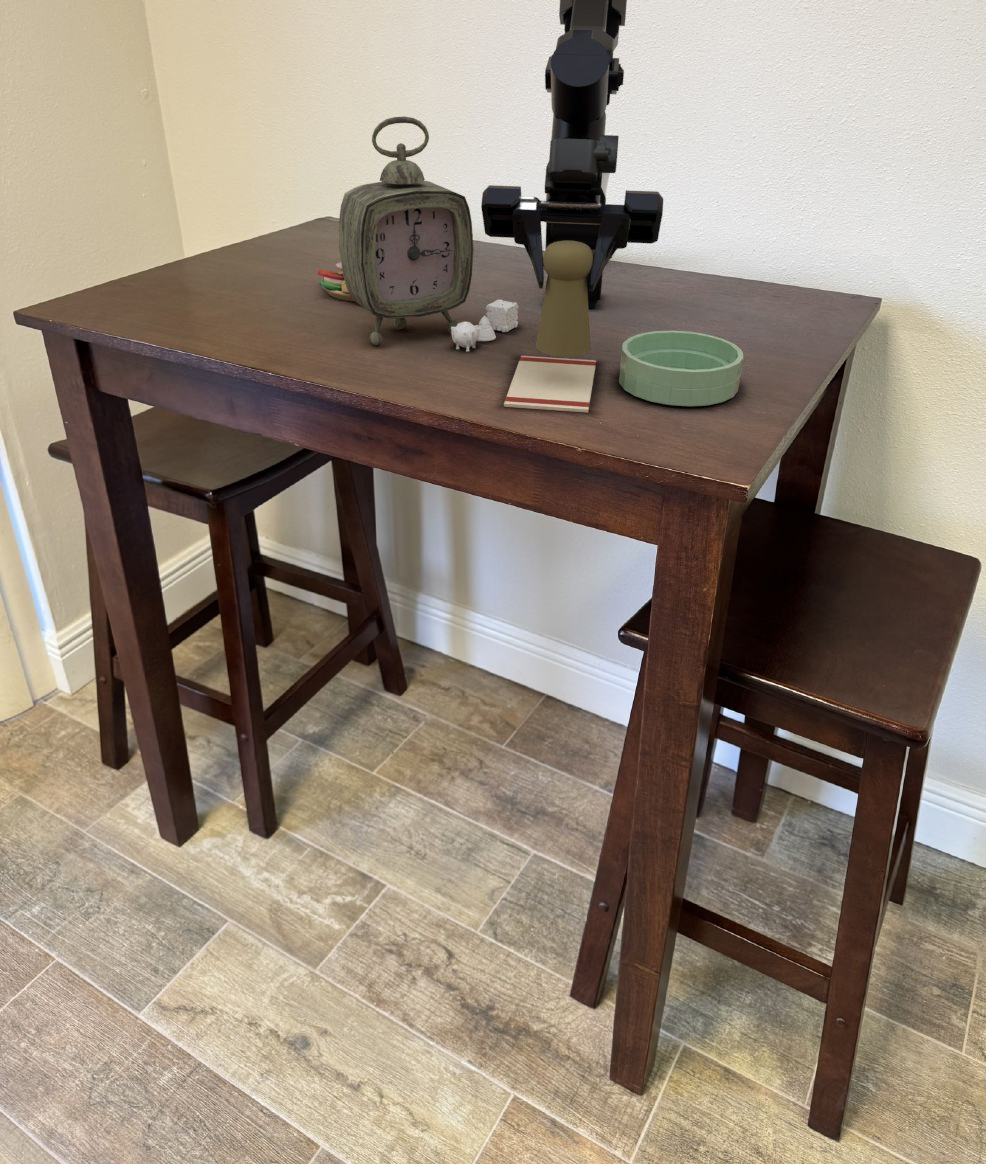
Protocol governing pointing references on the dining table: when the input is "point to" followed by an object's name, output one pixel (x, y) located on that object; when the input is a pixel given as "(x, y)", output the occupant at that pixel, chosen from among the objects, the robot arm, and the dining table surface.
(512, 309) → the game pieces
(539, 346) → the cork
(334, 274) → the toy food set
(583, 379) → the towel
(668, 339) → the bowl
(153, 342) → the dining table surface
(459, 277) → the tabletop clock
